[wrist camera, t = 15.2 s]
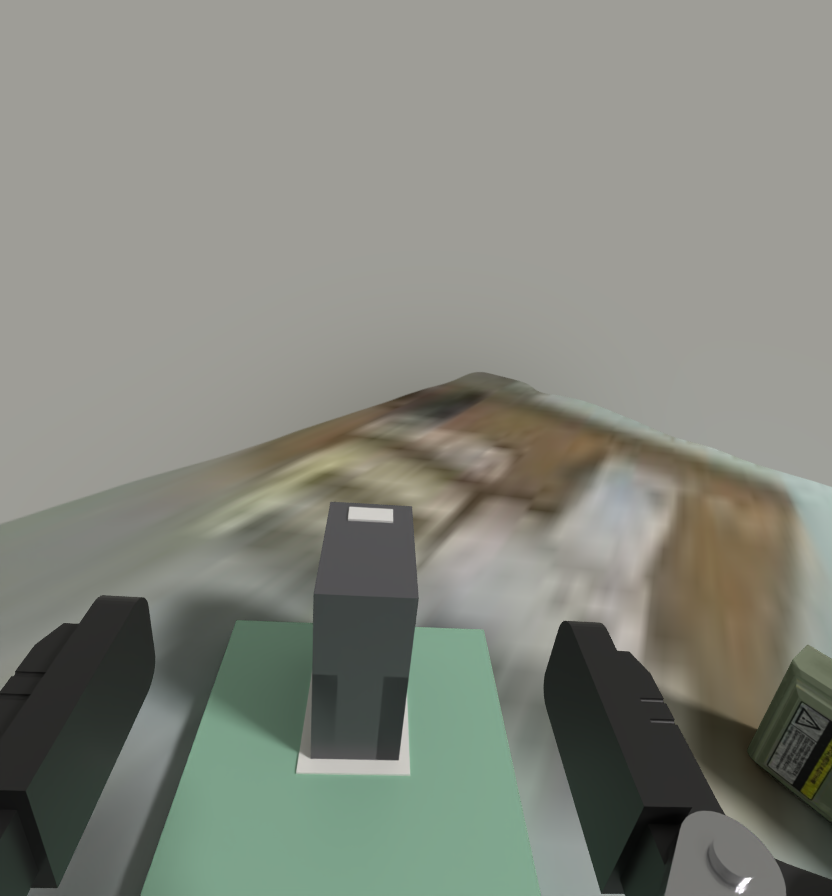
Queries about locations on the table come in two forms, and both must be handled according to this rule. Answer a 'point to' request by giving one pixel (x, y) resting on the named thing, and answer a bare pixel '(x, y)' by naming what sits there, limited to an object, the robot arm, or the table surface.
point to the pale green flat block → (346, 784)
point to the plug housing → (363, 632)
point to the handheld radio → (800, 731)
